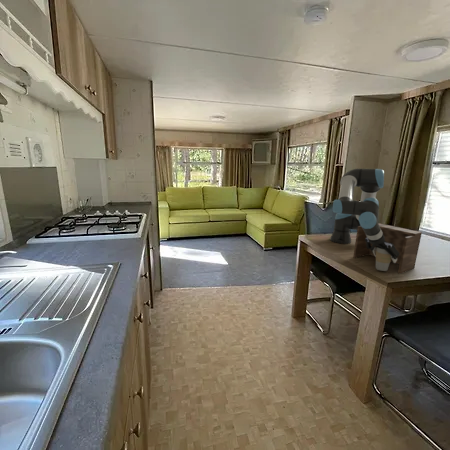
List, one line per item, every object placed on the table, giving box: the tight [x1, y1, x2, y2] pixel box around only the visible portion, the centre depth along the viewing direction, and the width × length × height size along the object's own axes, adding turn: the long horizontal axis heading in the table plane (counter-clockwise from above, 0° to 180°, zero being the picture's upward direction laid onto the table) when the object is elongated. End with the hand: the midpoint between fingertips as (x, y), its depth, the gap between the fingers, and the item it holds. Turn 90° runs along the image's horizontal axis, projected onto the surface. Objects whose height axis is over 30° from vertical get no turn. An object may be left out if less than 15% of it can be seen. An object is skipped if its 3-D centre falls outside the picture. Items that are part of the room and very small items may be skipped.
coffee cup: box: [375, 242, 394, 272], centre depth 143 cm, size 9×9×15 cm
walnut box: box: [352, 222, 423, 274], centre depth 155 cm, size 28×16×22 cm, turn 30°
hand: (386, 258), depth 145 cm, fingers closed on coffee cup, 9 cm apart
